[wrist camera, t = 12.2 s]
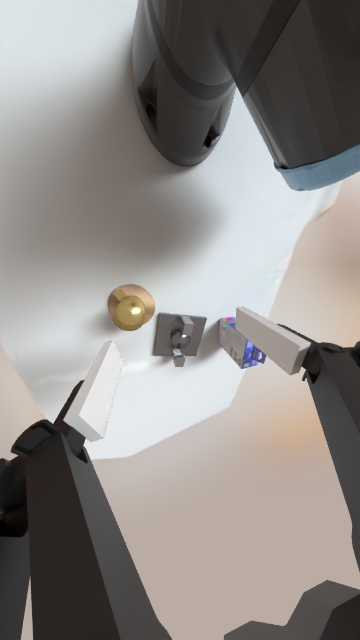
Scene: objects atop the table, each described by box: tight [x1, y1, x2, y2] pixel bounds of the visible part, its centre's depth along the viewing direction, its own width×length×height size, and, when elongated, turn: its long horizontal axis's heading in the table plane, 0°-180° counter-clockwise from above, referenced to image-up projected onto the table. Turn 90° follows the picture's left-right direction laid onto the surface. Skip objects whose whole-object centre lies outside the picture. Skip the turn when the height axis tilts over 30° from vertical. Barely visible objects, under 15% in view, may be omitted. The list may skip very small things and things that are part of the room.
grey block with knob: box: [154, 313, 207, 367], centre depth 37 cm, size 14×14×6 cm
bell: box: [113, 289, 149, 331], centre depth 29 cm, size 10×6×7 cm, turn 34°
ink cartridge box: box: [219, 317, 266, 369], centre depth 36 cm, size 10×6×14 cm, turn 6°
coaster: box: [108, 284, 155, 323], centre depth 32 cm, size 11×11×1 cm
